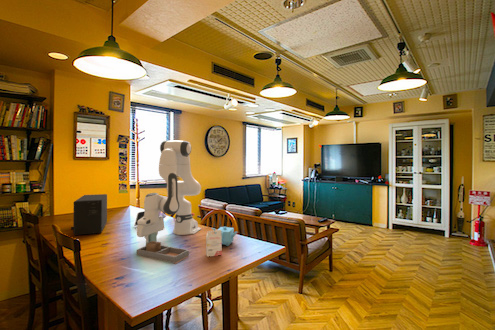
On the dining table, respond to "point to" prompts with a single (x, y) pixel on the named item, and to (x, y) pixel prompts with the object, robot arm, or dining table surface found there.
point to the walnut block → (153, 246)
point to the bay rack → (165, 254)
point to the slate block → (152, 237)
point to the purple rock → (143, 215)
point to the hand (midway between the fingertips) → (151, 240)
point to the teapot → (226, 235)
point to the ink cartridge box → (213, 243)
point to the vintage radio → (90, 214)
